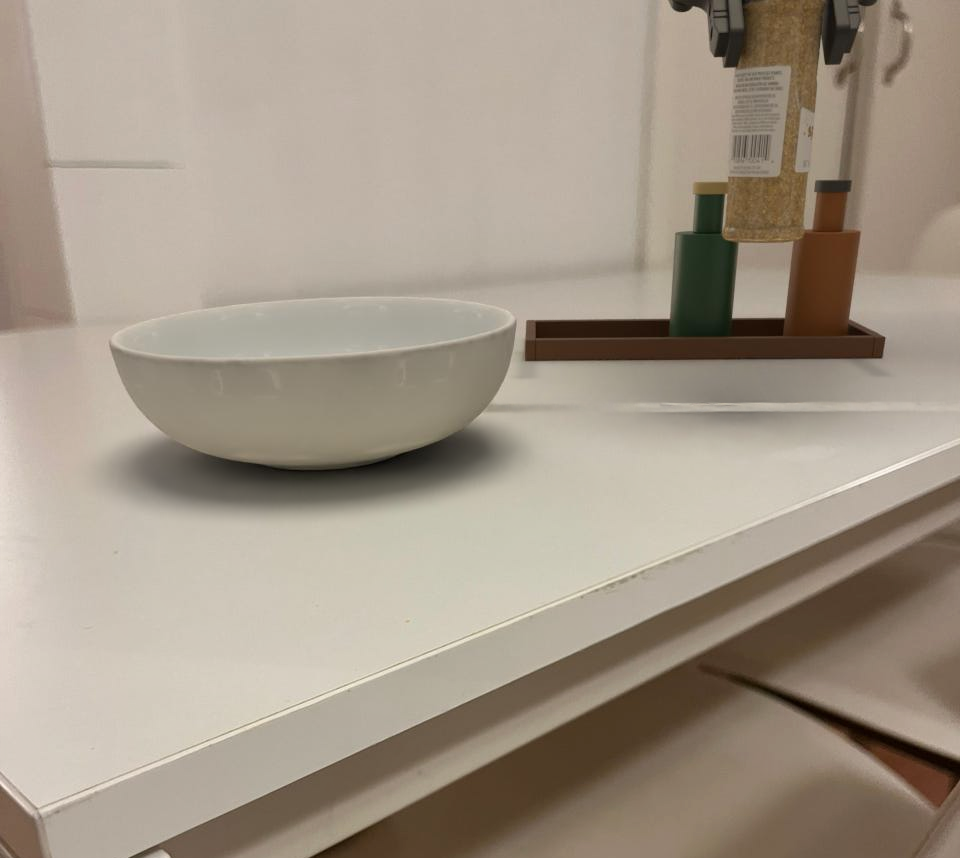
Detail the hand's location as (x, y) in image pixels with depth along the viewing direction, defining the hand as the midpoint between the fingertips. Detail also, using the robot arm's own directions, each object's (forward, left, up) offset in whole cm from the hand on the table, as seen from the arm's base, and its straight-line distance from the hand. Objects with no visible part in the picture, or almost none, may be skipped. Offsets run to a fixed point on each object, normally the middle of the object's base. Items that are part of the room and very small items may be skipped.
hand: (786, 50), depth 51 cm
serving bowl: (+24, +5, -19) cm, 31 cm away
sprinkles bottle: (0, -2, -9) cm, 9 cm away
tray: (0, -24, -19) cm, 30 cm away
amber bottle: (-9, -24, -19) cm, 32 cm away
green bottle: (0, -24, -19) cm, 30 cm away
